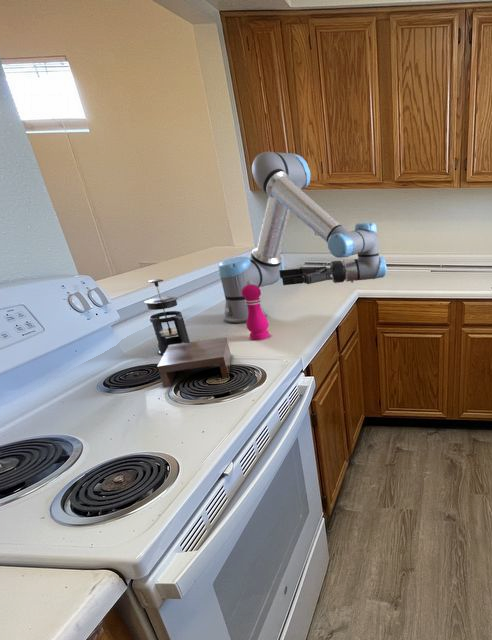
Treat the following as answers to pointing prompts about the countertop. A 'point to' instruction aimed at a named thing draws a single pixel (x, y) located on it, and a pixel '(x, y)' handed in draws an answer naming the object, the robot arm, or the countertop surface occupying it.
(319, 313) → the countertop surface
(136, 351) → the countertop surface
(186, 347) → the shelf
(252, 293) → the pepper mill
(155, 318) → the french press
